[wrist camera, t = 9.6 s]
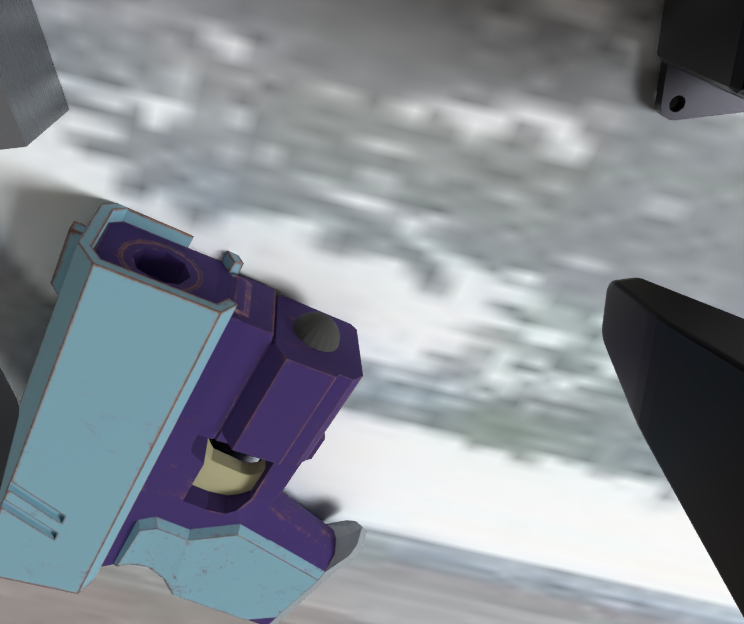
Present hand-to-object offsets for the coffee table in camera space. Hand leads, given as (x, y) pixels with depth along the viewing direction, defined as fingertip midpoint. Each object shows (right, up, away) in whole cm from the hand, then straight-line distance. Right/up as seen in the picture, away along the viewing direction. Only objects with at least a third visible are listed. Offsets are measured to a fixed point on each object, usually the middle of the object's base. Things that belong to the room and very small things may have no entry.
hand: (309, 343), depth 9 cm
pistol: (-5, -4, +17) cm, 18 cm away
